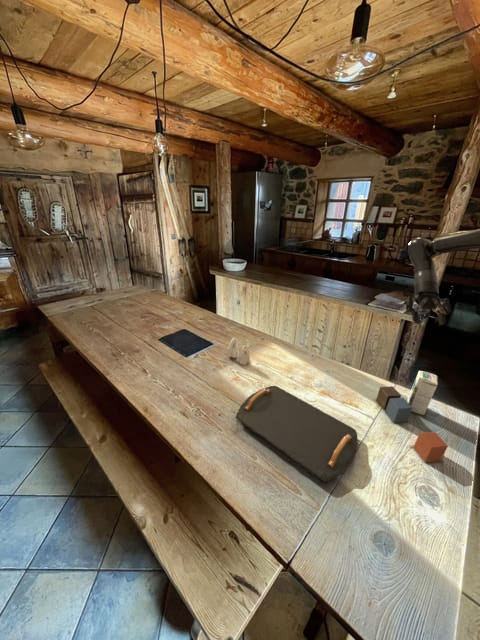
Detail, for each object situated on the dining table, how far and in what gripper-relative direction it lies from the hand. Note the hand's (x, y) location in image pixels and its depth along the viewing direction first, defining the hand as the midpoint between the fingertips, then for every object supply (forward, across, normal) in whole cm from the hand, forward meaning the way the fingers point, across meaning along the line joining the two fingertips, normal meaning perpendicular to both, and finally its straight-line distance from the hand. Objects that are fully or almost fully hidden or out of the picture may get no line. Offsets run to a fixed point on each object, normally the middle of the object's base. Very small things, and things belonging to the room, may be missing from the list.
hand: (429, 323), depth 98 cm
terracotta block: (+44, -6, -4) cm, 45 cm away
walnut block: (+30, -12, +10) cm, 34 cm away
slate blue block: (+34, -10, +6) cm, 36 cm away
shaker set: (+18, -72, +23) cm, 78 cm away
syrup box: (+30, -2, +11) cm, 32 cm away
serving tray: (+44, -46, -3) cm, 64 cm away
